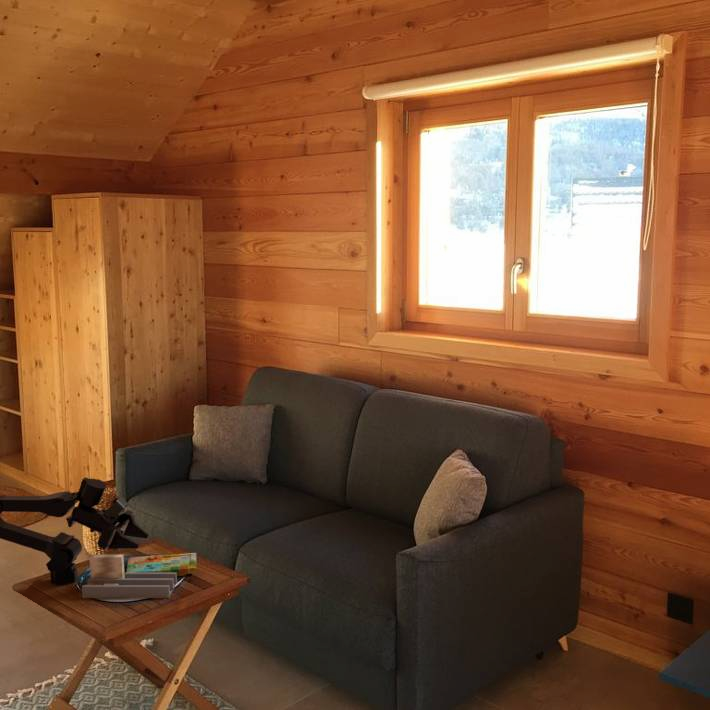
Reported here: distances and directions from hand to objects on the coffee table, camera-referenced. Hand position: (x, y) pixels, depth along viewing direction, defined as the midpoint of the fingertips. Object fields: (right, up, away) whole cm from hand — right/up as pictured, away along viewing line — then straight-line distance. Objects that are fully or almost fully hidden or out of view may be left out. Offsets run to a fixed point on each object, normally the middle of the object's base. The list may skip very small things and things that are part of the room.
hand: (143, 541), depth 249 cm
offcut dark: (-13, -13, -4) cm, 19 cm away
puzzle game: (+3, -13, +12) cm, 18 cm away
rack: (-3, -15, -2) cm, 15 cm away
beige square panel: (-10, -13, 0) cm, 16 cm away
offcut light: (-8, -13, -4) cm, 16 cm away
